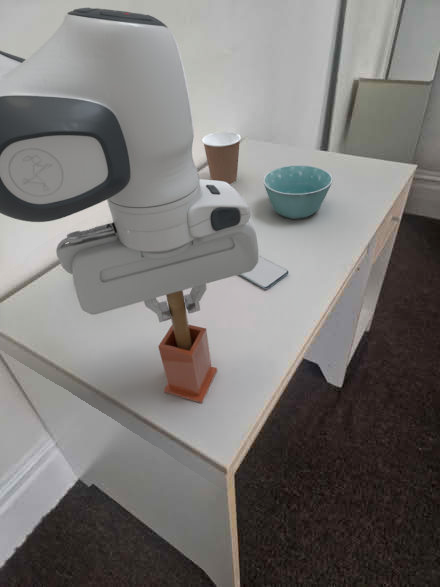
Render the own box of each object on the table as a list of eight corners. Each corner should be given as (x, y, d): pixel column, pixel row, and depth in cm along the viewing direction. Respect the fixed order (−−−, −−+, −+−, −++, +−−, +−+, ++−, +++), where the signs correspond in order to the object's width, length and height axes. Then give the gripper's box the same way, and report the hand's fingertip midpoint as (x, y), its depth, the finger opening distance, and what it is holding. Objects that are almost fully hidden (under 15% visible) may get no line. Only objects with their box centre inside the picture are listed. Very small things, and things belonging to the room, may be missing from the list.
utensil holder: (164, 392, 54) (151, 348, 47) (181, 360, 58) (172, 317, 51) (202, 403, 52) (194, 360, 45) (217, 370, 56) (212, 326, 50)
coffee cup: (227, 170, 111) (225, 129, 104) (249, 181, 105) (248, 137, 97) (199, 181, 107) (194, 138, 99) (220, 192, 101) (216, 148, 93)
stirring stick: (182, 382, 54) (160, 288, 42) (187, 371, 55) (168, 277, 43) (194, 385, 53) (176, 291, 41) (199, 375, 55) (184, 280, 43)
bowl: (263, 227, 86) (264, 194, 80) (262, 196, 97) (262, 165, 92) (333, 226, 84) (338, 192, 79) (323, 194, 96) (326, 163, 90)
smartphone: (266, 288, 68) (211, 257, 77) (266, 291, 69) (211, 259, 77) (290, 271, 72) (235, 243, 80) (289, 273, 72) (235, 245, 81)
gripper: (49, 255, 32) (95, 357, 41) (265, 204, 36) (264, 306, 45) (49, 222, 37) (91, 320, 46) (241, 179, 41) (244, 277, 50)
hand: (178, 313), depth 46 cm, fingers closed
